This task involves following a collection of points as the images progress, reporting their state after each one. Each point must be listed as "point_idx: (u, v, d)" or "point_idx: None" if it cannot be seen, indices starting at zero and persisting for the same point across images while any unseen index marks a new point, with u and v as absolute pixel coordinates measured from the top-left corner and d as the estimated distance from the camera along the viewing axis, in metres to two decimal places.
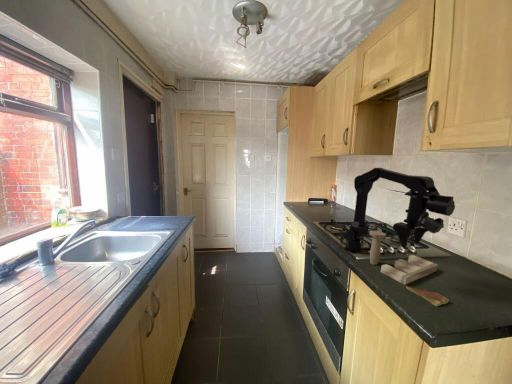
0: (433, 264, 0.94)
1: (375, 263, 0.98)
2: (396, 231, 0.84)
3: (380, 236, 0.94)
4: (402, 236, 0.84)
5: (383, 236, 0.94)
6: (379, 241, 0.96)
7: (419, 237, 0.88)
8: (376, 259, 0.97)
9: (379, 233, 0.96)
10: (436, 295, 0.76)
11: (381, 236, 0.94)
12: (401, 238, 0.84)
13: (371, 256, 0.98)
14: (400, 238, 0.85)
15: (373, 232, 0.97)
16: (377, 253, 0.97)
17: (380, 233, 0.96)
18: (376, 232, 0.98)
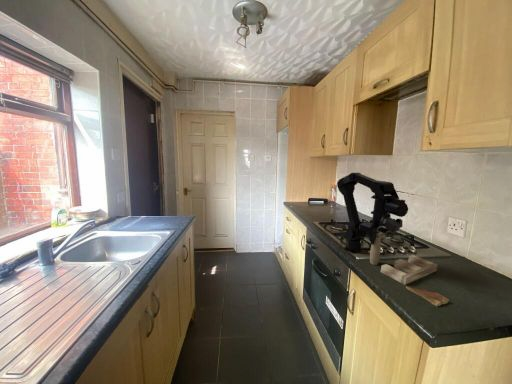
0: (433, 264, 0.94)
1: (375, 263, 0.98)
2: None
3: (380, 236, 0.94)
4: (370, 234, 0.96)
5: (383, 236, 0.94)
6: (379, 241, 0.96)
7: None
8: (376, 259, 0.97)
9: (379, 233, 0.96)
10: (436, 295, 0.76)
11: (381, 236, 0.94)
12: (369, 236, 0.96)
13: (371, 256, 0.98)
14: (369, 236, 0.96)
15: None
16: (377, 253, 0.97)
17: (380, 233, 0.96)
18: None
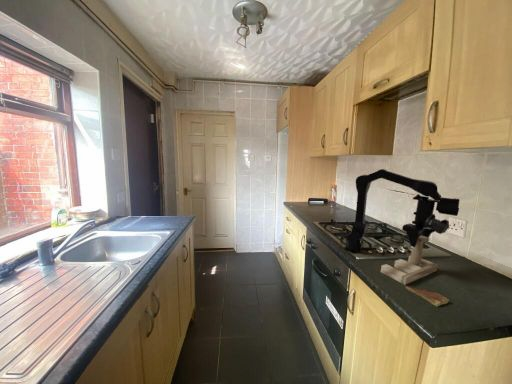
0: (433, 264, 0.94)
1: None
2: (406, 231, 0.92)
3: (423, 240, 0.91)
4: (412, 236, 0.92)
5: (426, 240, 0.91)
6: (421, 245, 0.93)
7: None
8: (417, 264, 0.94)
9: (421, 237, 0.93)
10: (436, 295, 0.76)
11: (424, 240, 0.91)
12: (411, 238, 0.92)
13: (412, 260, 0.95)
14: (410, 238, 0.93)
15: None
16: (419, 257, 0.94)
17: (422, 237, 0.93)
18: None
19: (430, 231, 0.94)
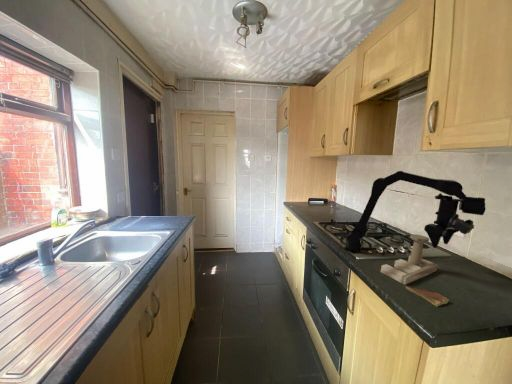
0: (433, 264, 0.94)
1: None
2: (427, 232, 0.89)
3: (423, 240, 0.91)
4: (433, 237, 0.89)
5: (426, 240, 0.91)
6: (421, 245, 0.93)
7: (448, 238, 0.93)
8: (417, 264, 0.94)
9: (421, 237, 0.93)
10: (436, 295, 0.76)
11: (424, 240, 0.91)
12: (432, 239, 0.89)
13: (412, 260, 0.95)
14: (431, 239, 0.90)
15: (414, 236, 0.94)
16: (419, 257, 0.94)
17: (422, 237, 0.93)
18: (418, 236, 0.94)
19: (453, 231, 0.92)
